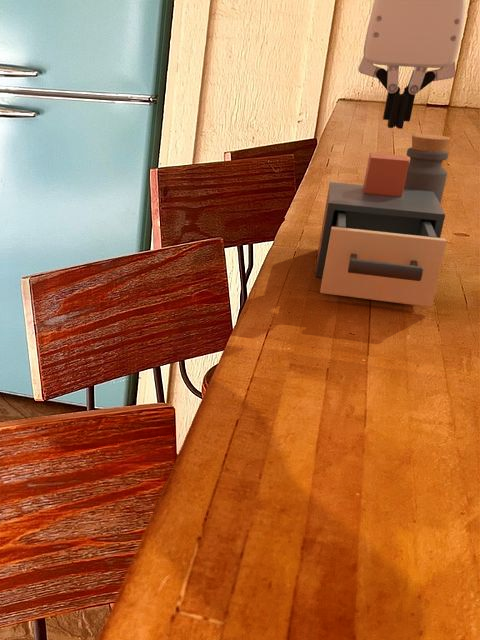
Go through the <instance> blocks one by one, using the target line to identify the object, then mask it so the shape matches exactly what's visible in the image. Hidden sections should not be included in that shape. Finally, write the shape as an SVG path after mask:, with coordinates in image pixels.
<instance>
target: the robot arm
mask: <svg viewBox="0 0 480 640" xmlns="http://www.w3.org/2000/svg"><path fill="white" fill-rule="evenodd" d="M466 1H467V0H373V3H372V8H371V12H370V17H369V20H368V26H367V29H366V30H367V31H366V34H365V41H364V44H363V45H364V46H363V56H362V58H361V61H360V64H359V65H358V67H357V69H358V72H359V73H360V74H363V75H366V76H369V77H372V78H375V79H377V80H378V81H379V82H380V84H381V85H382V86H383V87H384V89H385V90H386V91H387V95H386V100H385V106H384V110H383V115H382V120H384V121H387V125H386V126H387V128H388V129H393V128H397V129H399V130H400V129H401V130H403V128H404V123H405V122H410V121H411V117H412V113H413V107H414V103H415V98H416V95H417V94H418V93H419V92H421V90H423V89H424V88H426V87H427V86H428V85H430V84H431V83H432V82H436V81H437V82H438V81H444V80H450V79H453V78H454V77H455V76H456V59H457V57H458V53H459V48H460V44H461V40H462V39H461V38H462V32H463V26H464V19H465V13H466V4H467V3H466ZM380 66H386V69H385V67H384V68H383V67H380ZM400 67H406V68H407V67H409V68H413V70H412V72H411V75H410V77H409V80H408V83H407V85H406V86H405V87H404V88H403V92H402V93H400V92H401V87H400V86H399V78H400V77H399V75H400ZM429 68H430V69H432V70H428V69H429Z"/></svg>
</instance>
